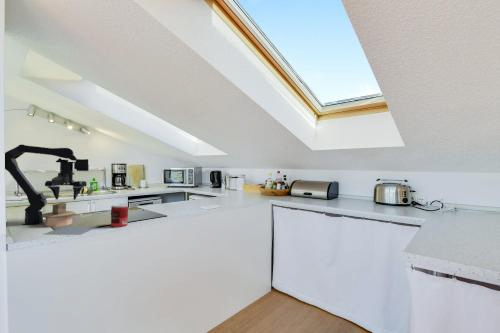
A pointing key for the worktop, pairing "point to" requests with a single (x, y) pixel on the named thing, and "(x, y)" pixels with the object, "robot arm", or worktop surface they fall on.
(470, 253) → the worktop surface
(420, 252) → the worktop surface
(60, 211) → the lid
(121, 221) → the canned food
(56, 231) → the mat
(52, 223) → the bowl
